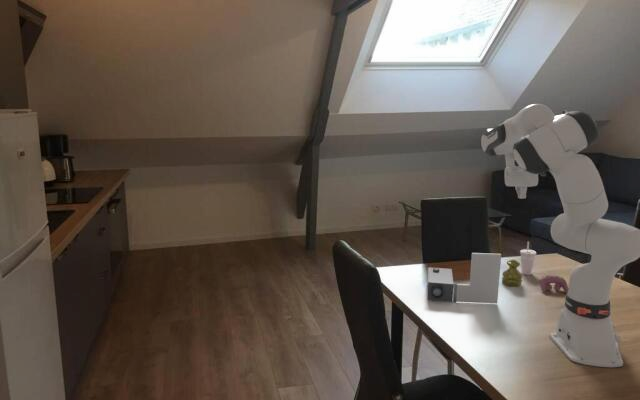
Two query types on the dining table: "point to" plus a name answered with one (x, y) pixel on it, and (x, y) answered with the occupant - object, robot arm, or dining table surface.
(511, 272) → the gold stepped round piece
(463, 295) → the side door
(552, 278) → the video game controller
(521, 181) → the robot arm
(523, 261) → the smoothie
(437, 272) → the camera body
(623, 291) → the dining table surface
